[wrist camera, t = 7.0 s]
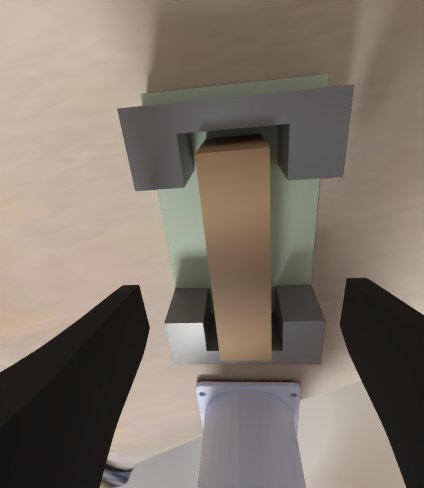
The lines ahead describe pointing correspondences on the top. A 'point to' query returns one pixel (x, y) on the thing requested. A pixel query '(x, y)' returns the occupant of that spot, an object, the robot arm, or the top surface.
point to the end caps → (293, 167)
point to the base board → (281, 196)
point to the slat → (238, 242)
